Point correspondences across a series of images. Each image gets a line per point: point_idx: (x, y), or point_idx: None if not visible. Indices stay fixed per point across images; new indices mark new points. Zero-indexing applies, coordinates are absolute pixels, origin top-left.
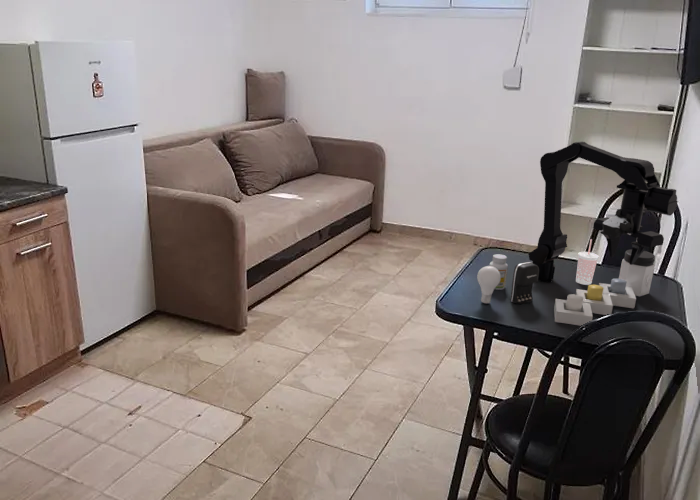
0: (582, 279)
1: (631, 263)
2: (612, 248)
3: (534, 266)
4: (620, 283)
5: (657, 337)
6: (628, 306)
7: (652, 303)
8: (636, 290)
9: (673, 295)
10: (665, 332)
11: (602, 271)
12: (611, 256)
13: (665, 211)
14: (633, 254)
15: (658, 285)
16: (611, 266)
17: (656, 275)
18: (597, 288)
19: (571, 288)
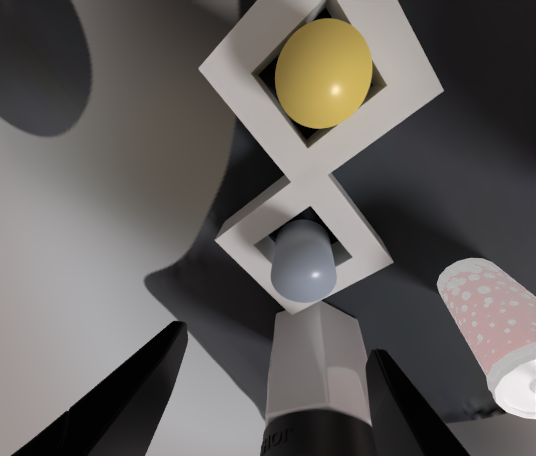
0: (475, 270)
1: (164, 329)
2: (409, 448)
3: None
4: (280, 257)
5: (4, 55)
6: (237, 212)
7: (227, 298)
8: (286, 322)
9: (238, 374)
10: (42, 131)
11: (451, 386)
12: (375, 355)
13: None
14: (79, 416)
15: None
16: (445, 423)
17: None
18: (303, 66)
19: (482, 187)
